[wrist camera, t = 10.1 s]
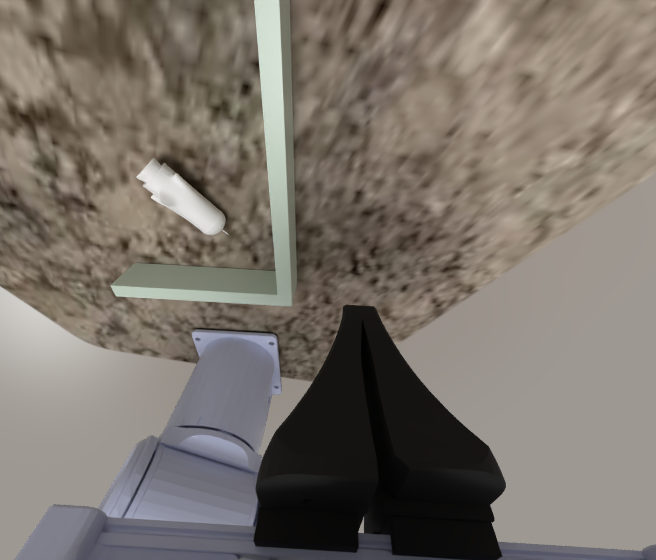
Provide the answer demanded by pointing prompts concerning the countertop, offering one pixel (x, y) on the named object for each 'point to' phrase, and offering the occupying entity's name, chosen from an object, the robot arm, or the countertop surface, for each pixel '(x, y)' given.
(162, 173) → the small white plastic part
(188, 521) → the robot arm
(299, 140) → the countertop surface
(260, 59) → the light green u-shaped bracket
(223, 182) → the countertop surface
